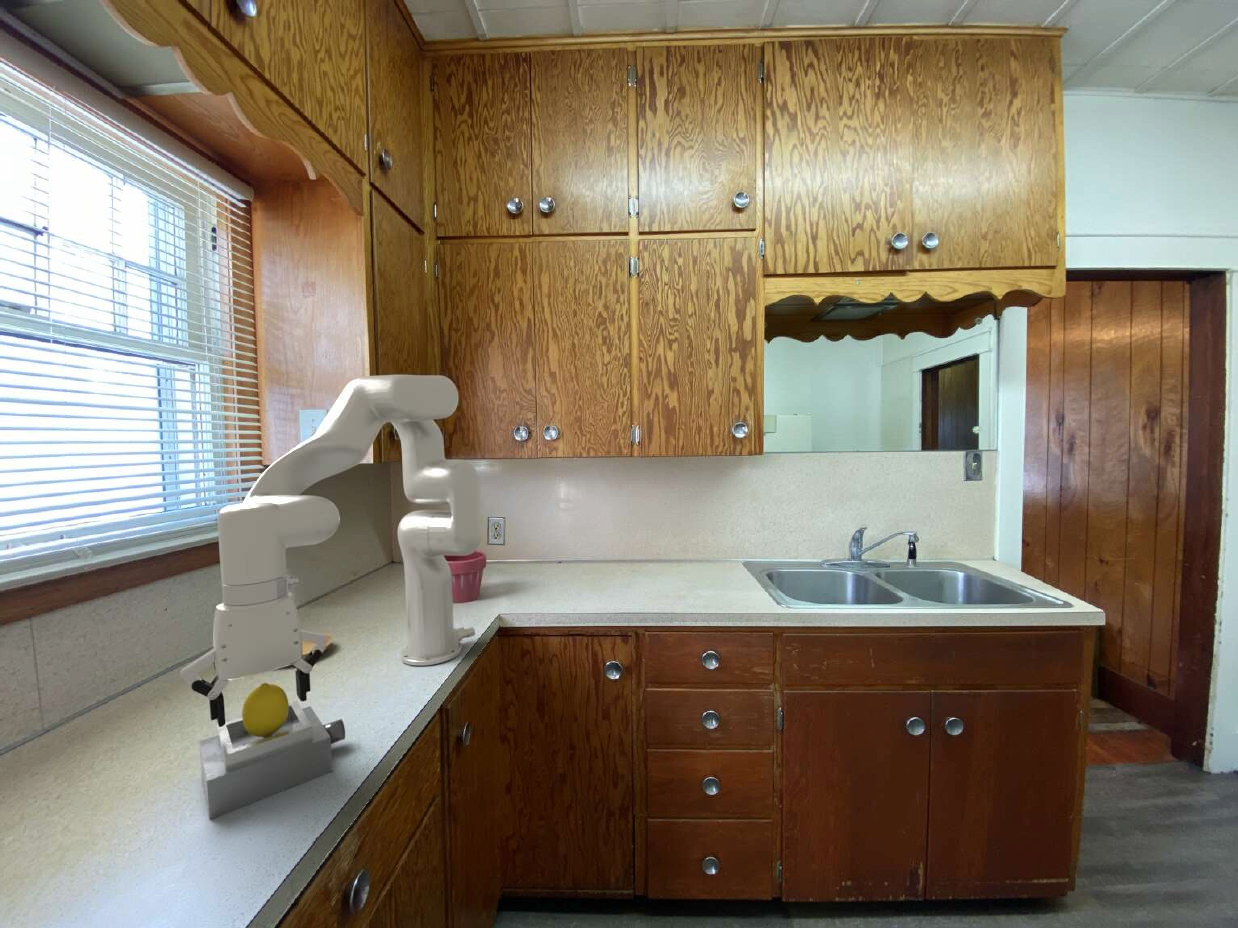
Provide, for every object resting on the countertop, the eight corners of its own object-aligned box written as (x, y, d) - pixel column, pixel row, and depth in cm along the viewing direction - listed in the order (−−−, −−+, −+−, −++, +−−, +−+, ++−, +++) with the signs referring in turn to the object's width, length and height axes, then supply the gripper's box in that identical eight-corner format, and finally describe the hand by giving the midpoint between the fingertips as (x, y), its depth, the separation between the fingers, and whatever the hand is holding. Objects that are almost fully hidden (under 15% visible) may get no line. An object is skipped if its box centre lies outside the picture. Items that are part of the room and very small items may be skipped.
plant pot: (485, 604, 151) (483, 559, 150) (433, 607, 148) (431, 562, 148) (489, 589, 165) (488, 548, 164) (442, 592, 163) (440, 551, 162)
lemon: (268, 750, 73) (264, 694, 73) (233, 747, 74) (230, 691, 74) (299, 728, 78) (296, 675, 78) (266, 725, 79) (263, 673, 79)
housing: (332, 729, 87) (330, 687, 87) (354, 761, 78) (352, 715, 78) (201, 775, 76) (198, 727, 76) (209, 819, 67) (205, 765, 67)
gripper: (318, 574, 83) (324, 681, 84) (174, 598, 72) (183, 722, 73) (331, 583, 78) (337, 698, 79) (177, 612, 66) (186, 745, 67)
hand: (263, 709), depth 76 cm, fingers open, 9 cm apart
